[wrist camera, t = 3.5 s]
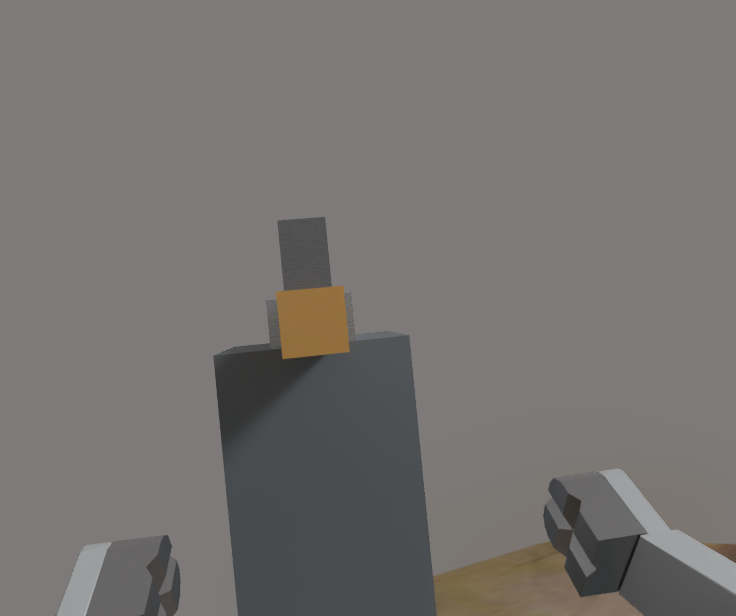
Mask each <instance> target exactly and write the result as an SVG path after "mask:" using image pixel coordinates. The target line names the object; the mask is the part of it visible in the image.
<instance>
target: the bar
mask: <svg viewBox="0 0 736 616" xmlns="http://www.w3.org/2000/svg"><path fill="white" fill-rule="evenodd" d="M278 231H279V242H280V252H281V262H282V273H283V283H284V291H278V292H276V296H277V306H278V317H279V327H280V338H281V348H282V358H283V359H288V358H298V357H307V356H317V355H326V354H335V353H345V352H350V349H349V338H348V328H347V318H346V307H345V297H344V287H343V286H334V287H332V285H331V275H330V265H329V254H328V244H327V234H326V224H325V217H320V218H307V219H293V220H281V221H278Z"/></svg>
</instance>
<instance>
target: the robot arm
mask: <svg viewBox="0 0 736 616" xmlns="http://www.w3.org/2000/svg"><path fill="white" fill-rule="evenodd" d="M548 490H549V492H550V494H551V496H552V498H551V499H550V500H549V501H548V502H547V503H546V504H545V508H544V514H543V516H544V523H545V528H546V531H547V534H548V537H549V539H550V541H551V543H552V545H553V547H554V548H555V549H556V550H557V551H559V552H560V553H562V554H563V555H564V556H566V561H565V567H564V568H565V569H566V571H567V573H568V575H569V577H570V579H571V580H572V582H573V584H574V586H575V588H576V590H577V591H578V593H579V595H580V597H585V596H592V595H599V594H606V593H613V592H619V591H620V592H619V594H620V595H621V596H622V597H623V598H624V599H626V600H627V601H628V602H629V603H630V604H631V605H633V606H634V607H635V608H636V609H637V610H639V611H640V612H641V613H642V614H643V615H645V616H736V563H734V562H732V561H731V560H729V559H727V558H726V557H724V556H722V555H720V554H719V553H717V552H715V551H713V550H712V549H710V548H708V547H707V546H705V545H703V544H701V543H700V542H698V541H696V540H694V539H693V538H691V537H689V536H687V535H686V534H684V533H682V532H680V531H679V530H670V529H669V528H668V526H666V524H665V523H664V521H663V520H662V519H661V518H660V516H659V515H658V514H657V513H656V511H655V510H654V509H653V508H652V506H651V505H650V504H649V503H648V501H647V500H646V499H645V497H644V496H643V495H642V494H641V492H640V491H639V490H638V489H637V487H636V486H635V485H634V484H633V483H632V481H631V480H630V479H629V478H628V476H627V475H626V474H625V473H624V472H623V471H622V470H620V469H612V470H605V471H599V472H588V473H582V474H576V475H570V476H563V477H557V478H553V480H552V481H551V482H550V485H549V489H548ZM171 547H172V545H171V542H170V540H169V537H168V535H165V536H156V537H148V538H140V539H131V540H124V541H123V540H122V541H114V542H106V543H100V544H92V545H86V546H85V547H84V548H83V550H82V551H81V552H80V554H79V556H78V559H77V561H76V563H75V566H74V569H73V571H72V574H71V577H70V579H69V582H68V585H67V587H66V590H65V592H64V595H63V598H62V600H61V603H60V605H59V608H58V611H57V613H56V616H173V615H174V614H175V613H176V611H177V610H178V604H179V597H180V573H179V566H178V563H177V560H176V559H174V558H172V557H171V556H170V553H171Z"/></svg>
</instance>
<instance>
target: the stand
mask: <svg viewBox="0 0 736 616" xmlns="http://www.w3.org/2000/svg"><path fill="white" fill-rule="evenodd" d="M344 297H345V307H346V318H347V328H348V338H349V349H350V352H345V353H335V354H326V355H317V356H307V357H298V358H288V359H283V358H282V348H281V338H280V327H279V317H278V306H277V300H267V301H266V304H267V315H268V325H269V336H270V343H268V344H259V345H249V346H239V347H233V348H231V349H229V350H226V351H223V352H221V353H219V354H216V355H214V366H215V377H216V388H217V399H218V408H219V420H220V430H221V441H222V451H223V461H224V472H225V483H226V493H227V504H228V513H229V524H230V536H231V546H232V557H233V567H234V577H235V588H236V598H237V608H238V616H437V615H436V604H435V594H434V584H433V574H432V564H431V554H430V543H429V534H428V523H427V513H426V502H425V492H424V482H423V473H422V462H421V452H420V441H419V431H418V421H417V410H416V400H415V390H414V381H413V369H412V360H411V349H410V339H409V335H405V334H399V333H393V332H376V333H366V334H357V335H355V329H354V319H353V309H352V299H351V293H344Z"/></svg>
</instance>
